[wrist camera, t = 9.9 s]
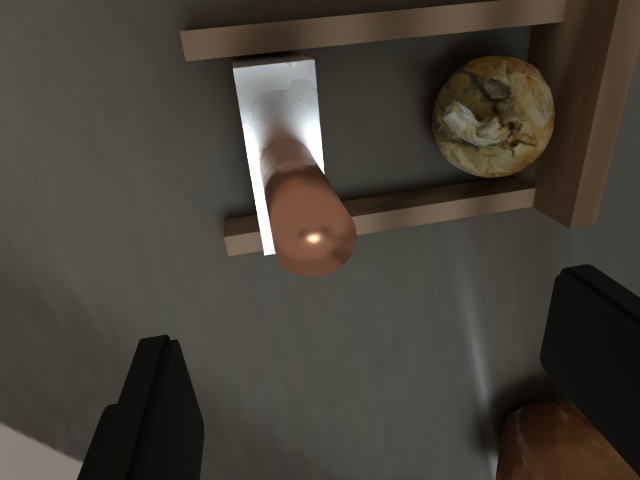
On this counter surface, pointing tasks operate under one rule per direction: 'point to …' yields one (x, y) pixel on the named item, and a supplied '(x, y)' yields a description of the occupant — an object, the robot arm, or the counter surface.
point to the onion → (493, 116)
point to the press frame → (544, 54)
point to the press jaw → (291, 165)
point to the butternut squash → (556, 447)
